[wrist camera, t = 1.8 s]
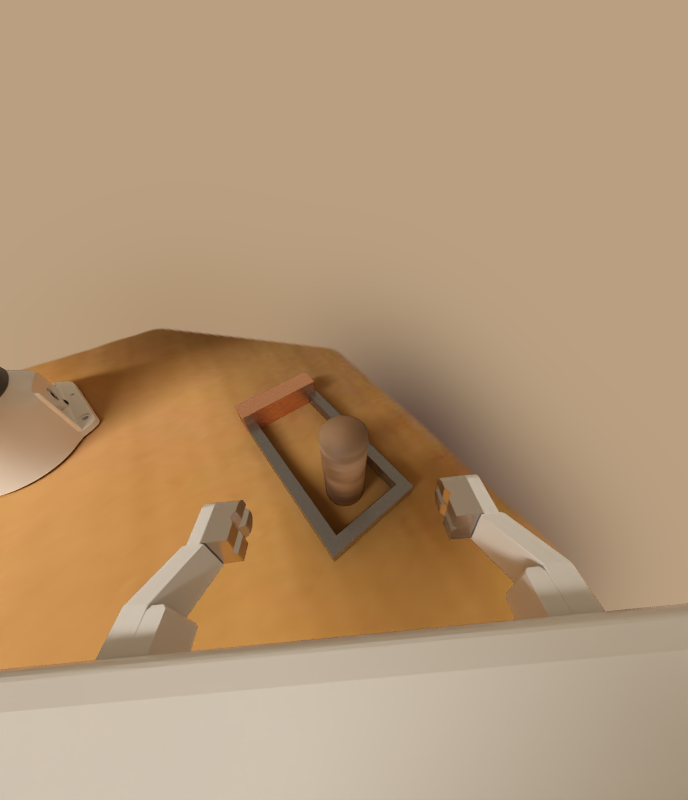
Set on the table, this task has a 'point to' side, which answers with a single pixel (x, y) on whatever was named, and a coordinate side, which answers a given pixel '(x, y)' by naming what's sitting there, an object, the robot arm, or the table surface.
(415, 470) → the table surface
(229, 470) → the table surface
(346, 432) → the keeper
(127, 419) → the table surface
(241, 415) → the guide track
